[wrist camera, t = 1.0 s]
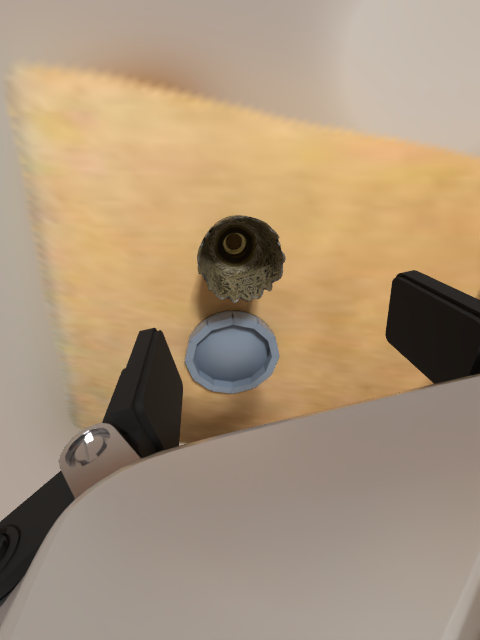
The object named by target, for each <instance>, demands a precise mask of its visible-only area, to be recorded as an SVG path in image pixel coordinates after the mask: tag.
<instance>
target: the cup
mask: <svg viewBox="0 0 480 640" xmlns="http://www.w3.org/2000/svg"><path fill="white" fill-rule="evenodd" d="M232 234H236V235H238V236H239V237H240V238H241V245H240V247H239V248H237V249H230V248H229V247H228V246H227V238H228V237H229V236H230V235H232ZM278 239H279V236H278V234H277V233H276V232H275V231H274V230H273V229H272V228H271V227H270V226H269V225H268V224H267V223H265V222H264V221H261V220H259V219H256V218H252V217H248V216H241V215H236V216H230V217H226V218H224V219H222V220H220V221H218V222H217V223H216V224H215V225H214V226H213V227H212V228H211V229H210V230H209V231H208V232H207V234H206V235H205V237H204V239H203V241H202V243H201V245H200V247H199V250H198V255H197V260H198V272H199V274H202V275H203V278H204V280H205V281H206V282H207V285H208V289H209V290H210V291H213V292H214V293H215V295H216V297H217V298H219V299H221V300H223V299H226V298H230V299H231V301H232V302H233V303H236V302H237V301H238V299H239V298H241V299H242V300H245V301H247V302H250V301H251V300H252V299H253V298H254V299H259V298H261V297H262V295H263V291H264V289H265V290H268V291H271V290H272V283H274V282H275V281H278V280H279V279H280V278H281V277H282V274H283V263H284V262H285V254H284V253H283V252H282V251H281V247H280V243H279V241H278Z"/></svg>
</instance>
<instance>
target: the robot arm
mask: <svg viewBox="0 0 480 640" xmlns="http://www.w3.org/2000/svg"><path fill="white" fill-rule="evenodd" d="M386 339H387V341H388V342H389V343H390V344H391V345H392V346H393V347H394V348H396V349H397V350H398V351H399V352H400V353H401V354H402V355H403V356H404V357H405V358H407V359H408V360H409V361H410V362H411V363H412V364H413V365H414V366H415V367H416V368H418V369H419V370H420V371H421V372H422V373H423V374H424V375H425V376H426V377H427V378H429V379H430V380H431V381H432V382H433V383H434V384H433V385H428V386H424V387H420V388H415V389H411V390H406V391H402V392H398V393H394V394H389V395H385V396H381V397H377V398H372V399H368V400H364V401H360V402H355V403H351V404H347V405H343V406H338V407H334V408H330V409H326V410H321V411H317V412H313V413H309V414H305V415H301V416H296V417H292V418H288V419H284V420H280V421H276V422H272V423H267V424H263V425H259V426H255V427H251V428H247V429H243V430H238V431H234V432H230V433H226V434H222V435H218V436H214V437H210V438H206V439H203V440H199V441H195V442H192V443H188V444H184V445H181V446H179V437H180V424H181V410H182V396H183V384H182V380H181V378H180V375H179V373H178V370H177V368H176V365H175V363H174V360H173V358H172V355H171V352H170V350H169V347H168V345H167V342H166V340H165V337H164V335H163V332H162V331H161V330H160V331H157V330H156V328H152V329H147V330H143V331H140V332H139V334H138V337H137V339H136V342H135V345H134V348H133V350H132V353H131V356H130V358H129V361H128V364H127V367H126V368H125V369H123V371H122V372H121V375H120V378H119V380H118V383H117V385H116V388H115V391H114V393H113V396H112V398H111V401H110V404H109V406H108V409H107V411H106V414H105V417H104V419H103V422H102V423H100V424H95V425H92V426H90V427H87V428H86V429H84V430H82V431H81V432H79V433H78V434H77V435H76V436H75V437H73V438H72V439H71V440H70V441H69V443H68V444H67V445H66V446H65V447H64V449H63V451H62V453H61V455H60V459H59V465H60V469H61V471H60V472H59V473H58V474H56V475H55V476H54V477H53V478H52V479H51V480H50V481H48V482H47V483H46V484H45V485H43V486H42V487H41V488H40V489H39V490H37V491H36V492H35V493H34V494H33V495H32V496H30V497H29V498H28V499H27V500H26V501H24V502H23V503H22V504H21V505H20V506H18V507H17V508H16V509H15V510H14V511H13V512H11V513H10V514H9V515H8V516H7V517H6V518H4V519H3V520H2V521H1V522H0V640H480V300H478V299H476V298H474V297H472V296H470V295H468V294H466V293H463V292H461V291H459V290H457V289H455V288H453V287H450V286H448V285H446V284H444V283H442V282H440V281H437V280H435V279H433V278H431V277H429V276H427V275H425V274H422V273H420V272H418V271H415V270H413V271H408V272H404V273H399V274H398V275H397V276H396V278H394V279H393V281H392V288H391V296H390V303H389V311H388V319H387V327H386Z"/></svg>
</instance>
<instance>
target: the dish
mask: <svg viewBox="0 0 480 640" xmlns="http://www.w3.org/2000/svg"><path fill="white" fill-rule="evenodd" d="M278 359H279V351H278V347H277V342H276V338H275V335H274V333H273V331H272V330H271V329H270V328H269V326H268V325H267V324H266V323H265V322H264V321H263V320H261V319H260V318H259V317H257V316H255V315H253V314H250V313H247V312H243V311H224V312H220V313H217V314H214V315H212V316H209V317H208V318H206V319H204V320H203V321H202V322H200V323H199V324H198V325H197V326H196V327H195V329H194V330H193V332H192V333H191V335H190V337H189V341H188V346H187V350H186V355H185V363H186V366H187V368H188V370H189V372H190V374H191V376H192V378H193V379H194V381H196V382H198V383H199V384H201V385H202V386H204V387H205V388H207V389H208V390H211V391H215V392H223V393H230V394H232V393H238V392H242V391H246V390H249V389H253V388H254V387H255V388H256V387H257V386H258V385H259V384H261V383H262V382H263V381H264V380H266V379H267V378H268V377H270V376H271V374H272V373H273V371H274V368H275V366H276V364H277V361H278Z"/></svg>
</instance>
